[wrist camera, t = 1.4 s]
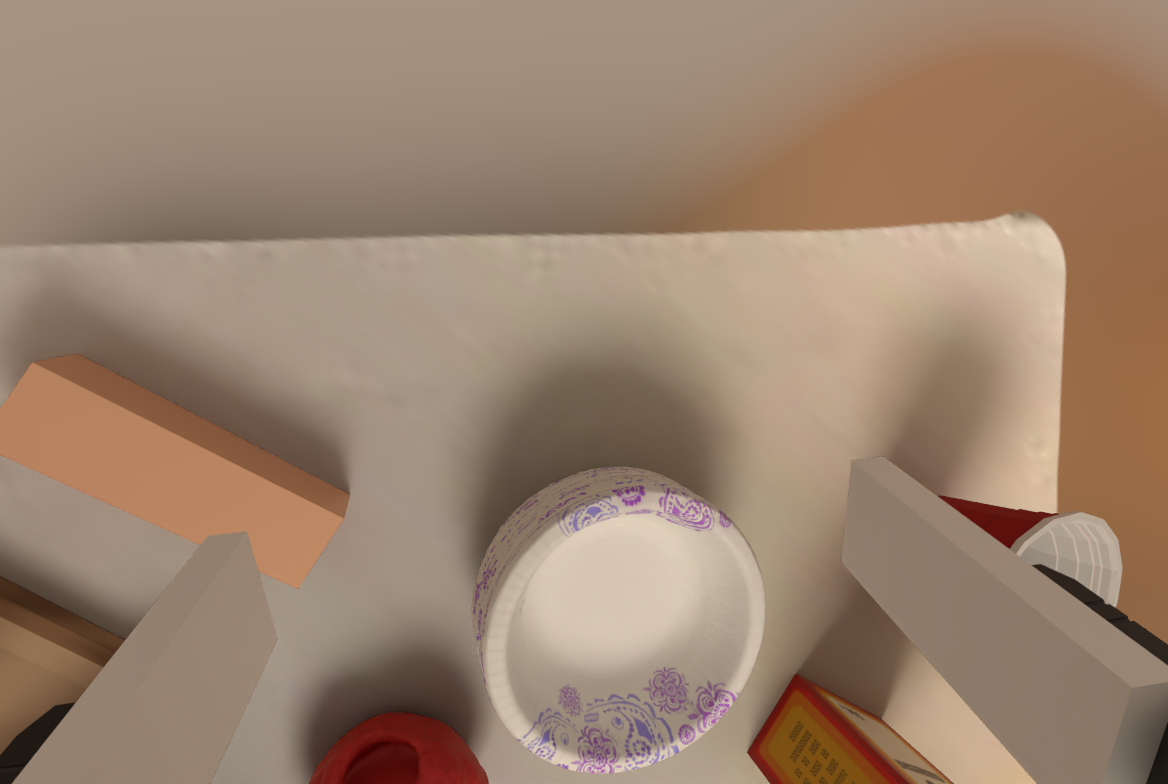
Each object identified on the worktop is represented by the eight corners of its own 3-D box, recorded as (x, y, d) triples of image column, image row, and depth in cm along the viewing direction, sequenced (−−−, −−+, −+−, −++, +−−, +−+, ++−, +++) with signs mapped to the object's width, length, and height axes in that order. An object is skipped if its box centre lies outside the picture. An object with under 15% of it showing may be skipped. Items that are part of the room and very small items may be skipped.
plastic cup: (907, 621, 46) (1073, 729, 35) (802, 568, 43) (949, 669, 31) (977, 493, 46) (1166, 559, 35) (878, 430, 43) (1052, 480, 31)
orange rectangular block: (350, 493, 34) (344, 518, 30) (309, 555, 33) (297, 588, 30) (80, 353, 29) (32, 362, 25) (31, 424, 29) (-24, 444, 25)
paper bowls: (667, 414, 38) (733, 444, 30) (726, 621, 42) (798, 694, 34) (427, 509, 35) (434, 569, 27) (513, 725, 38) (541, 832, 31)
